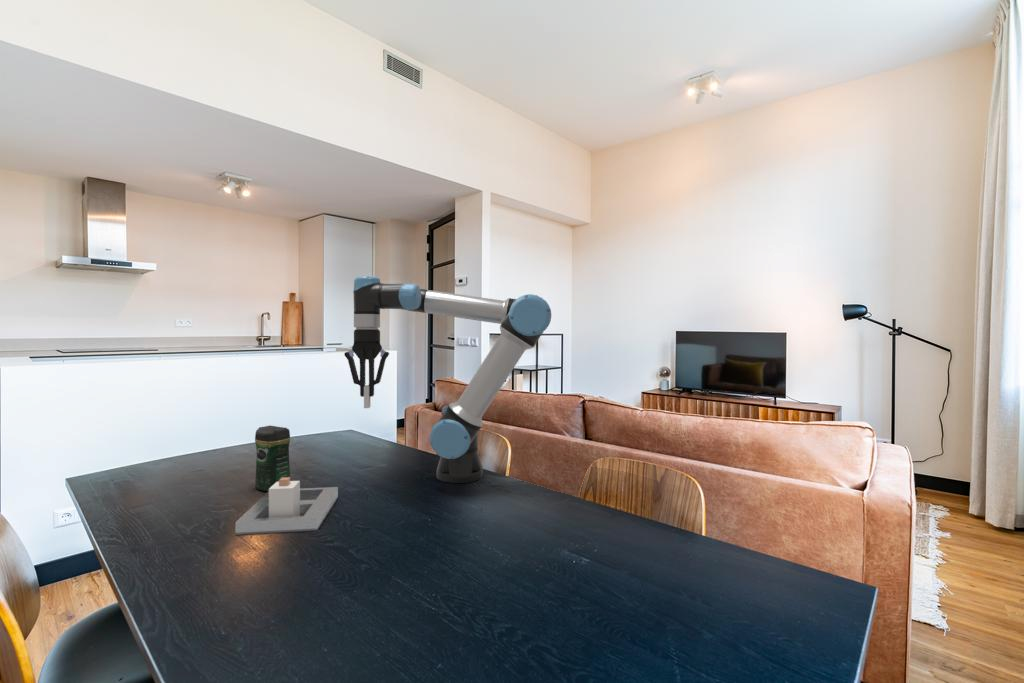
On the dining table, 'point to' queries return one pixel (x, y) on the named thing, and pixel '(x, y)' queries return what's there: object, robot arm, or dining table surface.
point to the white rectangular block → (284, 499)
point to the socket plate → (311, 517)
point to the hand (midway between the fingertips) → (367, 407)
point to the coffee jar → (271, 456)
